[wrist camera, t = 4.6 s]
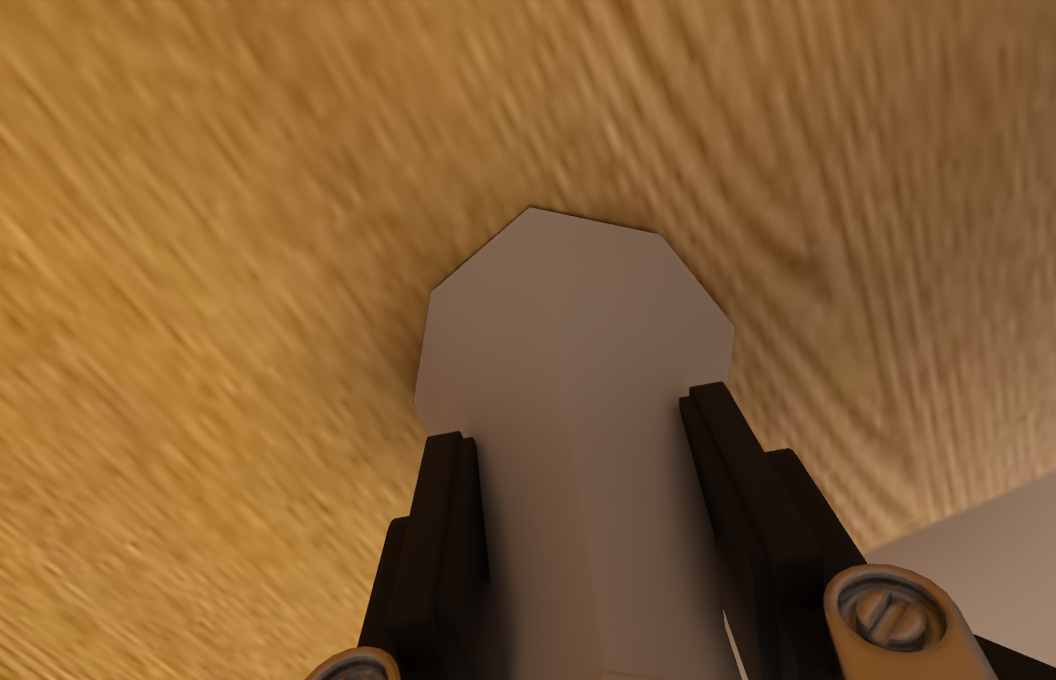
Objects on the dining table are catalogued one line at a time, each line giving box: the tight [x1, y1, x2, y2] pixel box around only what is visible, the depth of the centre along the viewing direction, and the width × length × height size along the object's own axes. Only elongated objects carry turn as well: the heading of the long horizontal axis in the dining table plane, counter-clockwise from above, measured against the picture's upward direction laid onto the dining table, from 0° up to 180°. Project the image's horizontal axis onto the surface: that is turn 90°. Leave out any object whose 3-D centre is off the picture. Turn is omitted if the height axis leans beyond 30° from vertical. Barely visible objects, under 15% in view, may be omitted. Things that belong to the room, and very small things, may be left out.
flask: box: [413, 207, 742, 680], centre depth 11 cm, size 7×7×10 cm
